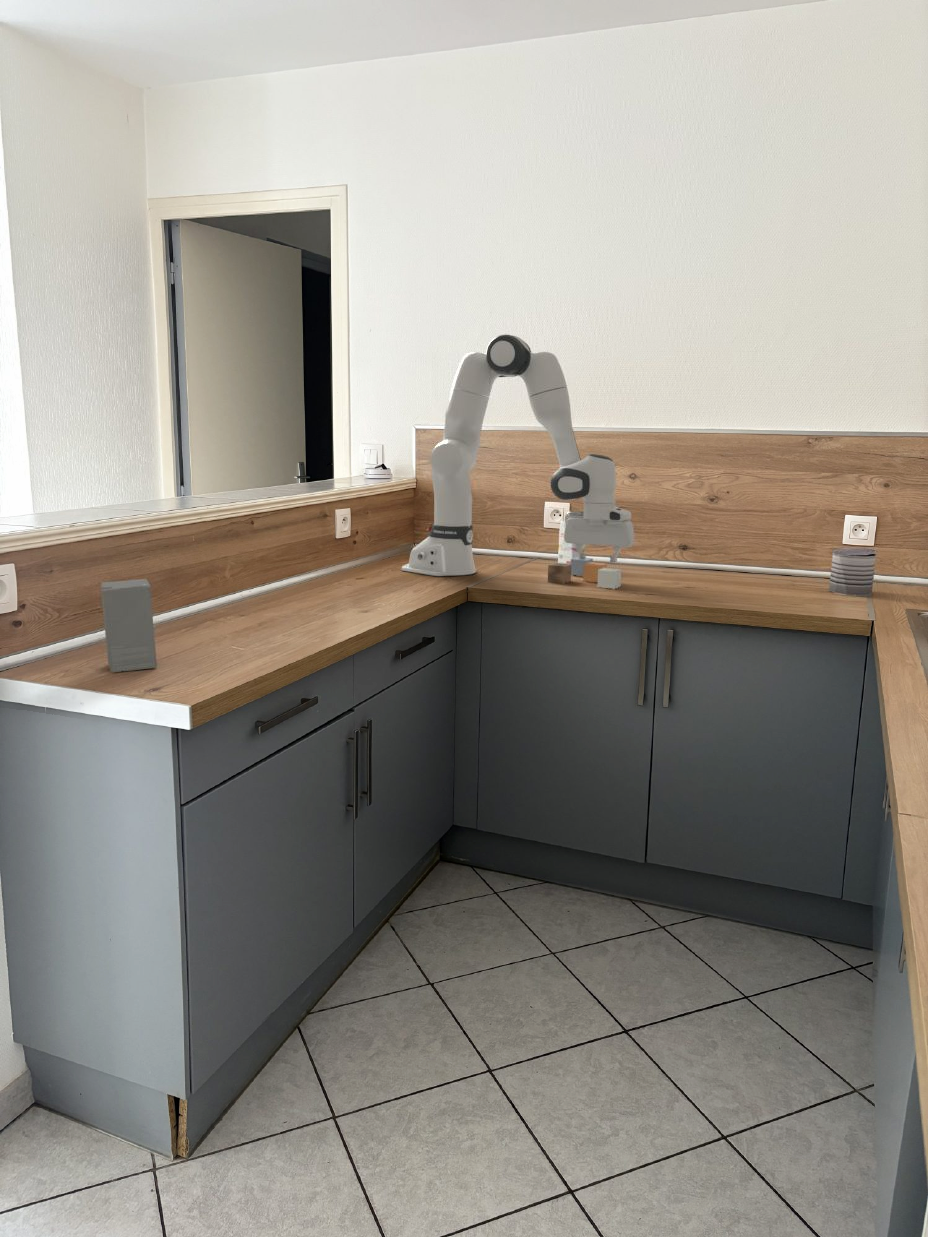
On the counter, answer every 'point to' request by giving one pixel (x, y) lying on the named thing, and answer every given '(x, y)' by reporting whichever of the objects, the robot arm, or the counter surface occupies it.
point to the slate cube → (579, 566)
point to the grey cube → (609, 578)
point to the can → (853, 571)
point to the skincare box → (128, 625)
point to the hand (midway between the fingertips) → (597, 560)
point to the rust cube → (592, 571)
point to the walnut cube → (559, 573)
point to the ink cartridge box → (566, 547)
